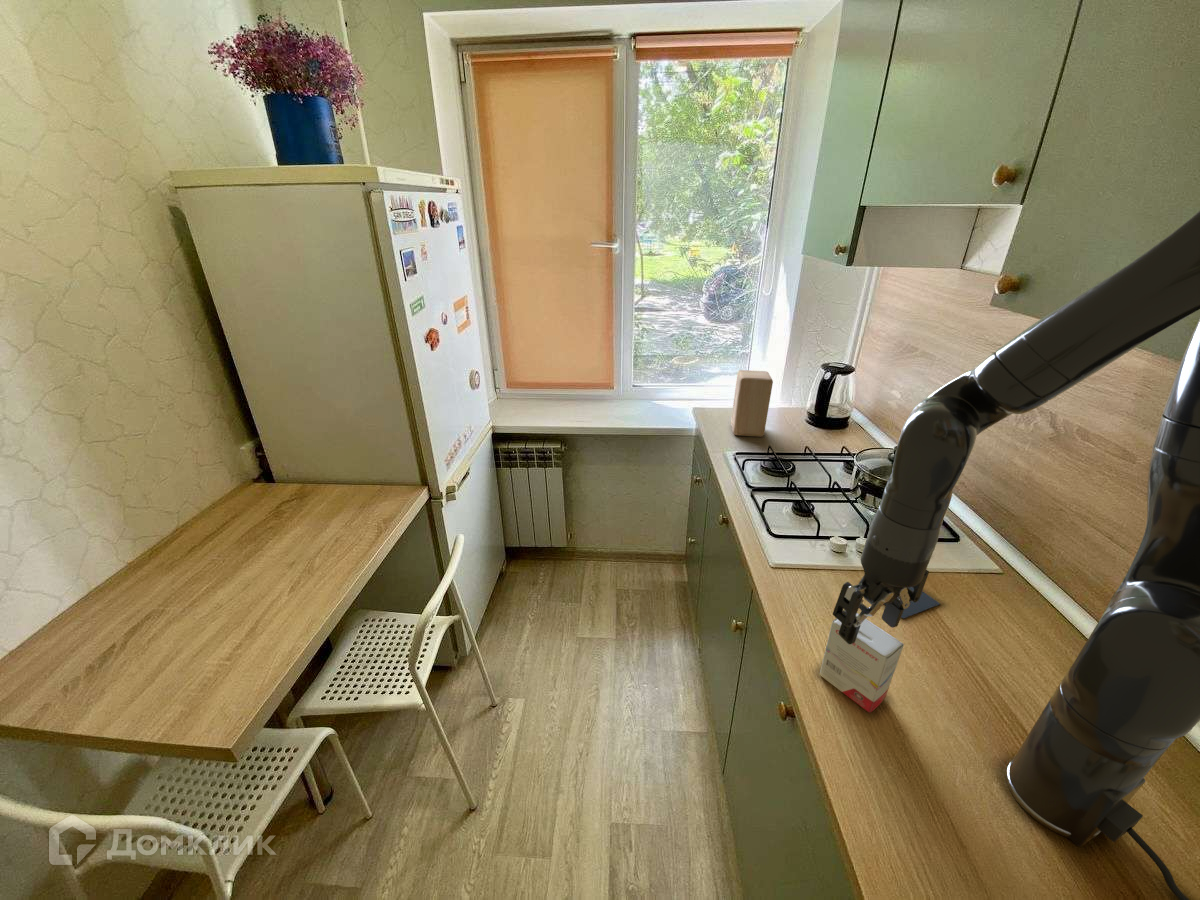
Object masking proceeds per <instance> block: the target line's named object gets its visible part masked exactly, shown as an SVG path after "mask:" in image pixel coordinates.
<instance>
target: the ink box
mask: <svg viewBox="0 0 1200 900" xmlns="http://www.w3.org/2000/svg"><path fill="white" fill-rule="evenodd" d="M859 614H860V613H858V612H857V614H856V617H857V616H858V615H859ZM841 624H842V623H841V622H840V621H839V620H838V619H837V618H836V617H835V619H833V620H832V621H831V626H830V629H829V633H828V637H827V641H826V646H825V650H824V654H823V658H822V663H821V666H820V670H819V676H820V677H821V678H823V679H824V680H825V681H827V682H828V683H830V684H831V685H832V686H833V687H835V688H836V689H837V690H838V691H840V692H841V693H843V694H844V695H845V696H846V697H847V698H849V699H850V700H852V701H853V702H854V703H855V704H857V705H858V706H859V707H860V708H862V709H863V710H864V711H866V712H867V713H870V714H871V713H872V712H874V711H875V710H876V709H877V708H878V707H879V706H880V705H881V704H882V703H883V702H884V700H885V698H886V697H887V694H888V691H889V688H890V685H891V682H892V680H893V677H894V675H895V671H896V669H897V666H898V663H899V661H900V657H901V654H902V651H903V648H904V645H905V643H904V642H902V641H900V640H899V639H898V638H896V637H894V636H892V635H891V634H889V633H888V632H886V630H884V629H882V628H880V627H879V626H878V625H876V624H875V623H873V622H871V621H870V620H869V619H867V618H866V619H865V620H864V621H863V622H862V623H861V625H860V629H859V632H858V635H857V638H856V640H855V643H853V644H848V643H847V642H846V641H845V640H844V639H843V638H841V636H840V635H839V630H840V628H841Z"/></svg>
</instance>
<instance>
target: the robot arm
mask: <svg viewBox="0 0 1200 900" xmlns="http://www.w3.org/2000/svg"><path fill="white" fill-rule="evenodd" d="M1199 310H1200V210H1198V211H1197V212H1196V213H1195V214H1193V215H1192V216H1191V217H1190V218H1188V220H1187V221H1186V222H1184V223H1182V225H1180V226H1179V227H1178V228H1176V229H1175V230H1174V231H1173V232H1172V233H1170V234H1168V235H1167V236H1166V237H1165V238H1163V239H1162V240H1161V241H1159V242H1158V243H1157V244H1155V245H1154V246H1153V247H1151V248H1150V249H1148V250H1147V251H1146V252H1144V253H1143V254H1141V255H1139V256H1138V257H1136V259H1134V260H1133V261H1131V262H1130V263H1128V264H1127V265H1125V266H1124V267H1122V268H1120V269H1119V270H1117V271H1116V272H1115V273H1113V274H1111V275H1109V276H1108V277H1106V278H1104V279H1103V280H1102V281H1100V282H1098V283H1097V284H1095V285H1093V286H1091V287H1089V288H1088V289H1087V290H1084V291H1082V292H1081V293H1080V294H1078V295H1077V296H1075V297H1074V298H1072V299H1070V300H1069V301H1067V302H1065V303H1064V304H1061V305H1060V306H1059V307H1057V308H1056V309H1054V310H1052V311H1051V312H1049V313H1048V314H1047V315H1045V316H1043V317H1042V318H1040V319H1038V321H1036V322H1034V323H1033V324H1032V325H1030V326H1029V327H1027V328H1026V329H1024V330H1023V331H1021V333H1019V334H1018V335H1016V336H1015V337H1014V338H1012V339H1010V340H1009V341H1008V342H1006V343H1005V344H1004V345H1002V346H1001V347H999V348H998V349H996V350H995V351H993V352H992V353H991V354H990V355H989V356H987V357H986V358H985V359H984V360H983V361H981V362H980V363H979V364H977V365H976V366H975V367H974V368H972V369H970V370H967V371H966V372H965V373H963V374H961V375H959V376H958V377H956V378H954V379H952V380H951V381H948V382H947V383H946V384H944V385H942V386H940V387H939V388H937V389H936V390H935V391H933V392H932V393H930V394H929V395H927V396H926V397H925V398H923V399H922V400H921V401H920V402H919V403H917V404H916V405H915V407H914V408H913V409H912V410H911V412H910V414H909V416H908V417H907V418H906V420H905V422H904V424H903V426H902V428H901V432H900V435H899V437H898V441H897V445H896V450H895V452H894V453H895V454H894V459H893V464H892V468H891V474H890V475H889V478H888V479H887V482H886V484H885V487H884V491H883V493H882V497H881V500H880V503H879V506H878V508H877V510H876V512H875V514H874V516H873V518H872V521H871V523H870V526H869V530H868V533H867V538H866V539H865V543H864V546H863V549H862V552H861V555H860V564H861V566H862V570H863V572H864V573H863V576H862V577H861V579H860V580H859V582H858V584H855V585H853V584H851V583H850V582H849V581H846V582H844V583H843V584H842V587H841V589H840V593H839V594H838V598H837V600H836V603H835V606H834V608H833V611H832V616H834V618H835V619H836V618H837V619H838V620H839V621H840V622H841V623H842V624H841V628H840V630H839V635H840V636H841V638H843V639H844V640H845V641H846V642H847V643H848V644H853V643H855V640H856V638H857V635H858V632H859V629H860V625H861V623H862V622H863V621H864V620H865V619H867V618H868V617H874V616H875V615H876V614H877V612H878V611H879V610H880V609H881V608H882V606H884V609H883V612H882V614H881V620H882V621H883V622H884V623H885V624H887V625H888V626H889V627H890V628H892V629H893V628H896V627H898V625H899V623H900V621H901V619H902V618H901V616H902V613H903V611H904V609H906V608H908V607H909V605H910V601H913V602H917V601H918V600H919V599H920V596H921V593H922V591H923V590H924V588H925V585H926V582H927V579H928V576H929V574H930V571H929V569H928V567H929V566H928V565H929V564H930V561H931V559H932V557H933V554H934V551H935V548H936V546H937V543H938V540H939V537H940V531H941V527H942V524H943V522H944V520H945V517H946V515H947V512H948V509H949V506H950V503H951V501H952V497H953V492H954V488H955V487H956V485H957V482H958V481H959V479H960V477H961V475H962V473H963V471H964V469H965V467H966V464H967V463H968V460H969V458H970V456H971V454H972V451H973V449H974V446H975V444H976V440H977V436H978V435H979V434H981V433H983V432H984V431H985V430H987V429H988V428H990V427H992V426H994V425H995V424H997V423H999V422H1001V421H1002V420H1005V418H1007V417H1009V416H1011V415H1023V414H1025V413H1029V412H1031V411H1033V410H1036V409H1038V408H1040V407H1041V406H1042V405H1045V404H1047V403H1048V402H1049V401H1051V400H1053V399H1055V398H1056V397H1058V396H1060V395H1062V394H1063V393H1064V392H1067V391H1068V390H1069V389H1071V388H1073V387H1074V386H1076V385H1078V384H1079V383H1081V382H1082V381H1084V380H1086V379H1088V378H1089V377H1090V376H1092V375H1094V374H1095V373H1097V372H1099V371H1101V370H1102V369H1103V368H1105V367H1107V366H1109V365H1110V364H1113V362H1115V361H1117V360H1118V359H1119V358H1121V357H1123V356H1124V355H1126V354H1127V353H1129V352H1131V351H1133V350H1134V349H1135V348H1137V347H1139V346H1140V345H1142V344H1144V343H1145V342H1146V341H1148V340H1150V339H1152V338H1154V337H1155V336H1157V335H1158V334H1160V333H1161V332H1163V331H1165V330H1168V329H1169V328H1170V327H1172V326H1173V325H1176V323H1178V322H1181V321H1182V320H1184V319H1185V318H1187V317H1189V316H1191V315H1192V314H1194V313H1196V312H1198V311H1199ZM1160 417H1161V418H1160V421H1159V424H1158V427H1157V431H1156V435H1155V438H1154V441H1153V445H1152V449H1151V453H1150V459H1149V465H1148V473H1147V485H1146V486H1147V487H1146V509H1147V510H1146V511H1147V512H1146V526H1145V529H1144V533H1143V537H1142V539H1141V542H1140V543H1139V547H1138V548H1137V551H1136V554H1135V556H1134V557H1133V560H1132V562H1131V564H1130V566H1129V568H1128V571H1127V572H1126V574H1125V575H1124V578H1123V579H1122V581H1121V583H1120V584H1119V586H1118V588H1117V589H1116V590H1115V592H1114V593H1113V595H1112V596H1111V598H1110V600H1109V602H1108V604H1107V605H1106V608H1105V609H1104V611H1103V613H1102V615H1101V617H1100V618H1099V620H1098V622H1097V624H1096V625H1095V627H1094V628H1093V630H1092V631H1091V634H1090V635H1089V637H1088V638H1087V640H1086V642H1085V644H1084V645H1083V647H1082V648H1081V650H1080V651H1079V653H1078V654H1077V657H1076V658H1075V660H1074V662H1073V663H1072V664H1071V665H1070V666H1069V667H1068V669H1067V671H1066V672H1065V674H1064V676H1063V677H1062V679H1061V681H1060V682H1059V684H1058V686H1057V688H1056V689H1055V691H1054V692H1053V694H1052V696H1051V697H1050V699H1049V700H1048V702H1047V703H1046V705H1045V707H1044V709H1043V710H1042V711H1041V713H1040V715H1039V716H1038V718H1037V720H1036V722H1035V723H1034V725H1033V726H1032V728H1031V730H1030V731H1029V732H1028V734H1027V736H1026V738H1025V739H1024V741H1023V742H1022V744H1021V745H1020V748H1019V749H1018V751H1017V752H1016V754H1015V756H1013V758H1012V759H1011V761H1010V762H1009V763H1008V765H1007V767H1006V768H1005V773H1004V777H1005V778H1004V779H1005V782H1006V785H1007V788H1008V790H1009V792H1010V794H1011V795H1012V796H1013V798H1014V799H1015V801H1016V802H1017V804H1018V805H1019V806H1020V807H1021V808H1022V809H1023V810H1024V811H1025V812H1026V813H1027V814H1028V815H1029V816H1030V817H1032V818H1033V819H1034V820H1035V821H1036V822H1038V823H1039V824H1041V825H1042V826H1044V827H1045V828H1047V829H1048V830H1050V831H1051V832H1054V833H1056V834H1058V835H1060V836H1063V837H1065V838H1067V839H1068V840H1070V841H1071V842H1072V843H1074V844H1075V845H1076V847H1079V848H1082V847H1083V846H1084V845H1086V844H1087V843H1088V842H1090V841H1091V840H1095V838H1097V837H1098V836H1099V835H1100V833H1102V834H1103V835H1104V836H1106V837H1107V838H1108V839H1109V840H1110V841H1112V842H1113V843H1115V842H1116V841H1118V840H1119V839H1120V838H1121V837H1123V836H1124V835H1125V834H1128V835H1129V836H1130V837H1131V838H1132V839H1133V840H1134V842H1135V843H1137V845H1139V847H1140V848H1141V849H1142V850H1143V852H1145V853H1146V854H1147V856H1149V857H1150V859H1151V860H1152V861H1153V863H1154V864H1155V865H1156V866H1157V868H1158V869H1159V871H1160V873H1161V875H1162V877H1163V880H1164V881H1165V884H1166V885H1167V887H1168V888H1169V889H1170V891H1171V892H1172V894H1174V895H1175V897H1176V898H1177V899H1179V900H1190V899H1189V898H1188V897H1187V896H1186V895H1185V894H1184V893H1183V892H1182V891H1181V889H1179V887H1178V885H1177V883H1176V882H1175V879H1174V877H1173V874H1172V872H1171V871H1170V869H1169V868H1168V867H1167V865H1166V864H1165V862H1164V861H1163V860H1162V858H1160V857H1159V855H1158V854H1157V853H1156V852H1155V851H1154V849H1152V848H1151V846H1149V844H1148V843H1147V842H1146V841H1145V840H1144V839H1143V838H1142V837H1141V836H1140V835H1139V833H1137V832H1136V831H1135V830H1134V829H1133V828H1134V827H1136V826H1137V824H1138V823H1139V821H1141V819H1142V818H1143V817H1144V815H1143V814H1141V812H1139V811H1138V810H1137V809H1135V808H1134V807H1133V806H1132V805H1130V804H1129V802H1130V801H1131V800H1132V798H1133V797H1135V795H1136V794H1137V792H1138V791H1139V790H1140V789H1141V788H1142V786H1143V785H1144V784H1145V783H1146V778H1145V777H1146V776H1147V774H1148V773H1149V772H1150V771H1151V769H1152V768H1153V767H1154V766H1155V765H1156V763H1157V762H1158V761H1159V760H1160V759H1161V757H1162V756H1163V755H1164V754H1165V752H1166V751H1167V750H1168V749H1169V748H1170V747H1171V746H1172V744H1173V742H1175V741H1176V739H1179V738H1182V737H1184V736H1186V735H1187V734H1188V733H1189V732H1191V731H1192V730H1193V729H1194V727H1195V726H1196V725H1197V724H1198V723H1199V722H1200V317H1199V319H1198V321H1197V323H1196V325H1195V328H1194V330H1193V332H1192V334H1191V336H1190V339H1189V342H1188V344H1187V346H1186V348H1185V351H1184V353H1183V356H1182V357H1181V362H1180V363H1179V367H1178V369H1177V372H1176V374H1175V377H1174V379H1173V383H1172V386H1171V387H1170V390H1169V394H1168V396H1167V399H1166V402H1165V405H1164V407H1163V410H1162V413H1161V416H1160ZM908 587H913V588H914V592H913V591H912V590H910V589H909V588H908ZM923 592H924V591H923ZM864 600H865V601H866V602H867V603H868V604H870V606H869V607H868V606H867V605H865V604H864V603H863V602H864ZM884 604H886V605H884ZM859 609H860V612H859V613H858V611H859ZM857 613H858V614H859V615H858V616H857V617H856V614H857Z"/></svg>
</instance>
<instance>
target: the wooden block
mask: <svg viewBox="0 0 1200 900" xmlns="http://www.w3.org/2000/svg"><path fill="white" fill-rule="evenodd" d="M773 383H774V380H773V378H772V376H771V375H770V373H769V371H766V370H751V369H749V370H748V369H740V370H738V371H737V373H736V381H735V388H734V389H735V390H734V397H733V403H732V410H731V411H732V412H731V418H730V424H731V429H732V433H733V435H735V436H743V437H758V438H759V437H760V438H761V437H764V435H765V431H766V425H767V420H768V414H769V409H770V408H769V407H770V403H771V402H770V401H771V396H772V389H773Z"/></svg>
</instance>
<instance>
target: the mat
mask: <svg viewBox="0 0 1200 900" xmlns="http://www.w3.org/2000/svg"><path fill="white" fill-rule="evenodd" d="M908 588H909V589H910V590H912V591H913V592H914V588H913V587H908ZM940 605H941V603H940V602H938V601H937V600H936V599H935V598H933V597H932V596H930V595H928V594H927V593H926V592H924V591H922V593H921V596H920V599H919V600H918V601H917V602H913V601H910V605H909V607H908V608H906V609H904V611H903V613H902V616H901V618H900V619H902V620H904V619H906V618H909V617H911V616H914V615H917V614H919V613H922V612H926V611H927V610H930V609H932V608H935V607H937V606H940ZM883 606H886V604H884V605H883Z"/></svg>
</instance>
